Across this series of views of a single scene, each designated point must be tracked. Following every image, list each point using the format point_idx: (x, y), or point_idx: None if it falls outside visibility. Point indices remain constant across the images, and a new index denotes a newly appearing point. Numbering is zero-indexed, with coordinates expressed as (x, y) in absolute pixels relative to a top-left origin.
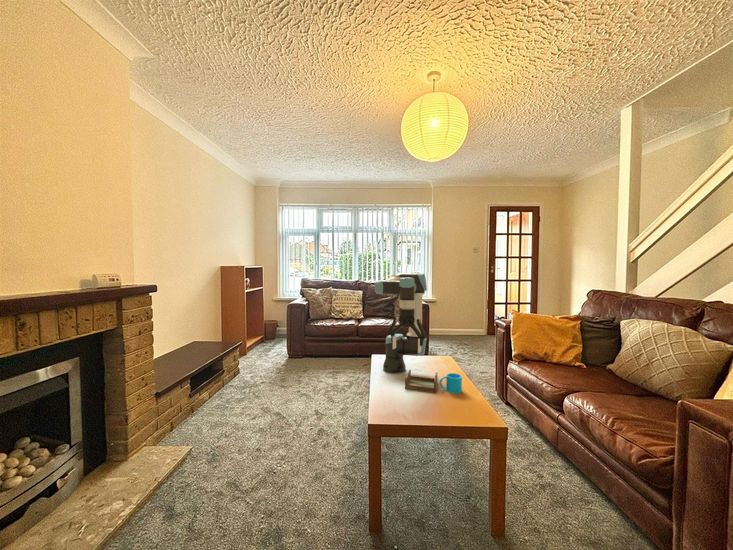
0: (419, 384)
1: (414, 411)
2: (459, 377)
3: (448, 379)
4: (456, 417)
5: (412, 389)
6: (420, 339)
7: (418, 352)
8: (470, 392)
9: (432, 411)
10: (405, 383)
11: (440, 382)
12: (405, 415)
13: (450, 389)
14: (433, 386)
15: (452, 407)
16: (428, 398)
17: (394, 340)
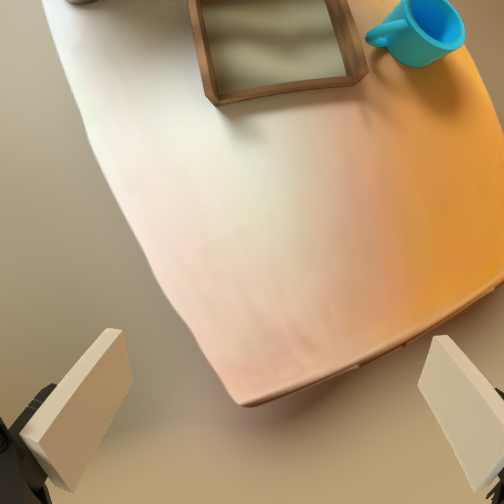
0: (262, 38)
1: (326, 294)
2: (460, 34)
3: (418, 41)
4: (452, 266)
5: (250, 98)
6: (499, 485)
7: (422, 387)
8: None
9: (384, 264)
10: (212, 100)
11: (374, 40)
12: (305, 333)
13: (410, 60)
14: (329, 35)
15: (438, 199)
16: (346, 156)
17: (90, 439)
